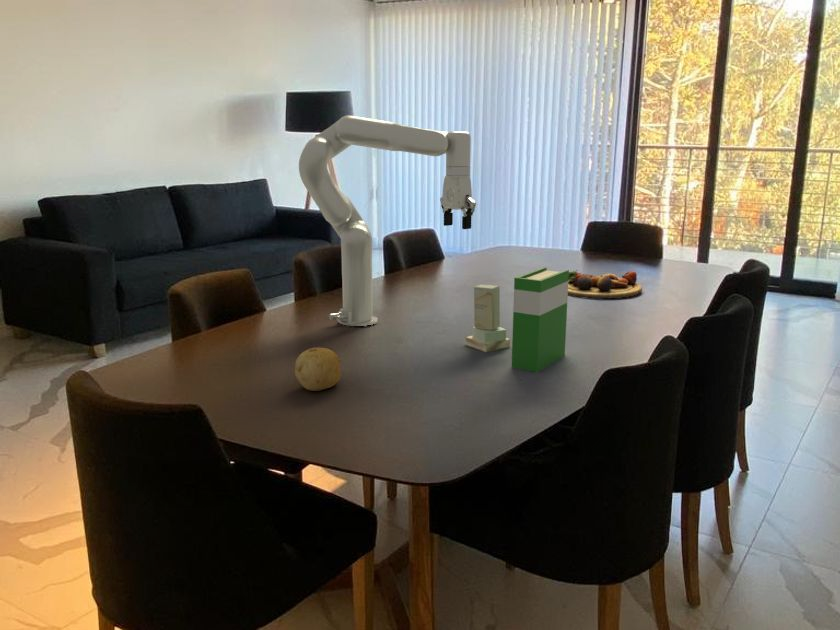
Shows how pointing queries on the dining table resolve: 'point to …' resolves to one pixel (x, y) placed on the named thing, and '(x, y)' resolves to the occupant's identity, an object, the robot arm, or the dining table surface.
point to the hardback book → (539, 318)
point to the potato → (318, 369)
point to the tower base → (487, 344)
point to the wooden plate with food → (603, 285)
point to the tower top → (489, 334)
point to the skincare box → (487, 307)
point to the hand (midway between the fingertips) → (457, 227)
